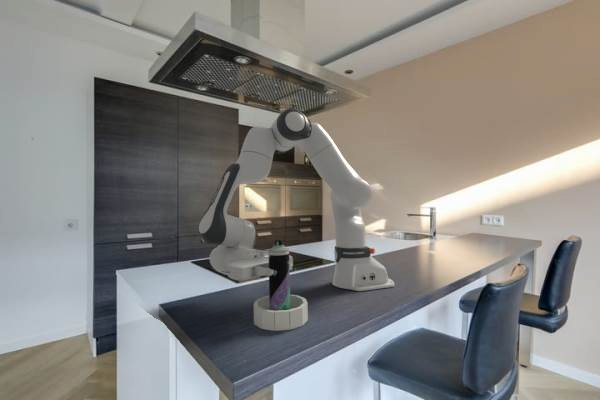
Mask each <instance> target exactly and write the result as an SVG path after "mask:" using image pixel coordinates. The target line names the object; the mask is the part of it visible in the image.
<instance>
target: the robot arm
mask: <svg viewBox="0 0 600 400" xmlns="http://www.w3.org/2000/svg"><path fill="white" fill-rule="evenodd" d="M296 146H297V147H298V148H299V147H300V148H301V150H303V151H304V153H305V155H306V157H307V158H308V160H309V161H310V164H312V166H313V168H314V169H315V170H316V172H317V174H318V175H319V177H320V178H321V179H322V180H323V181H324V182H325V183H326V184H327V185H328V187H329V188H330V189H331V190H330V195H329V196H330V197H329V198H330V201H331V206H332V207H331V208H332V213H333V214H332V215H333V220H334V228H335V246H334V261H335V265H334V267H335V268H334V274H333V278H332V279H333V280H332V282H331V283H332V285H333V286H335V287H336V288H340V289H346V290H352V291H355V292H362V291H363V292H364V291H371V290H378V289H386V288H394V287H395V282H394V280H393V279H391V278H390V277H388V272H387V269H386V267H385V265H383V264H382V263H381V262H379V261H378V260H377V259H376V258H374V257H373V256H371V255H375V254H376V251H375V248H374V247H368V246H367V245H366V223H365V222H364V219H363V216H362V210H361V209H362V208H364V207H366V206H367V205H368V204H369V203H370V202H371V200H372V198H373V191H372V186H370V184H369V183H368V182H367V181H366V180H364V179H363V178H362V177H361V176H360V174H358V173H357V171H356V170H355V169H354V168H353V167H352V166H351V165H350V164H349V163H348V161H347V160H346V158H345V157H344V155H342V153H341V151H340V149H339V148H338V147H337V145H336V143H335V142H334V140H333V138H332V137H331V136H330V135H329V133H328V132H327V131H326V130H325V128H323V126H321V124H320V123H318V122H311V121H310V119H309V118H307V116H306V115H305V114H304V113H303V112H301V111H300V110H298V109H295V108H288V109H285V110H284V111H282V112H281V113H279V115H278V117H277V118H276V119H275V120H274V121H273V123H272V125H271V126H270V127H265V126H260V125H259V126H258V125H257V126H254V127H252V128H250V129H249V131H248V132H247V134H246V136H245V138H244V141H243V144H242V147H241V149H240V153H239V157H238V159H237V160H236V162H235V163H232V164H230V165H228V167H227V168H226V170H225V171H224V173H223V175H222V177H221V179H220V181H219V184H218V185H217V188H216V190H215V192H214V194H213V197H212V198H211V200H210V203H209V205H208V207H207V209H206V211H205V212H204V214H203V216H202V217H201V219H200V221H199V224H198V227H197V228H198V231H197V232H198V234H199V236H200V238H201V240H202V241H203V243H205V244H206V245H212V246H217V247H215V248H213V250H212V251H211V252H210V254H209V263H210V265H211V267H212V268H213V269H214V270H215V271H216V272H218V273H221V274H223V275H226V276H227V277H228V278H230V279H231V280H234V281H237V282H241V281H243V282H244V281H252V280H255V279H257V278H259V277H262V276H267V277H269V276H271V275H274V268H269V249H256V248H255V245H256V242H257V228H256V226H255V224H254V223H253V222H252V221H250V220H247V219H244V218H241V217H237V216H235V215H234V216H233V215H230V214H228V211H227V210H228V208H229V205H230V203H231V201H232V198H233V196H234V193H235V191H236V189H237V188H238V187H239V186H240V185H247V184H248V185H249V184H257V183H261V182H262V181H264V180H265V179H267V177H268V176H269V174H270V171H271V169H272V165H273V159H274V155H275V153H277V154H283V153H287V152H289V151H290V150H292V149H293V148H294V147H296ZM293 267H294V258H293V256H292V255H290V254H289V272H290V271H293Z"/></svg>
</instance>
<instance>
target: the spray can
mask: <svg viewBox="0 0 600 400" xmlns="http://www.w3.org/2000/svg"><path fill="white" fill-rule="evenodd" d="M274 241H275V242H274V244H273V245H272V247H271V248H270V249H268V250H269V268H274V275H271V276H268V288H269V289H268V296H269V304H270V310H273V311H279V310H290V294H291V287H290V285H291V281H290V279H291V278H290V275H291V274H290V271H289V255H290V251H289V248H287V247H286V246H285V244H284V243H283V241H282V239H280V240H274Z"/></svg>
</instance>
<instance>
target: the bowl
mask: <svg viewBox="0 0 600 400" xmlns="http://www.w3.org/2000/svg"><path fill="white" fill-rule="evenodd" d="M308 307H309V305H308V300H307V299H306V298H305V297H302V296H301V295H298V294H292V293H290V310H279V311H273V310H270V304H269V295H265V296H261V297H260V298H258V299H256V300H254V302H253V325H255V326H257V327H258V328H260V329H262V330H266V331H272V332H277V331H278V332H280V331H290V330H293V329H297V328H300V327H302V326H303V325H305V324H306V323H307V322H308V320H309V318H308V317H309V311H308V309H309V308H308Z"/></svg>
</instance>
